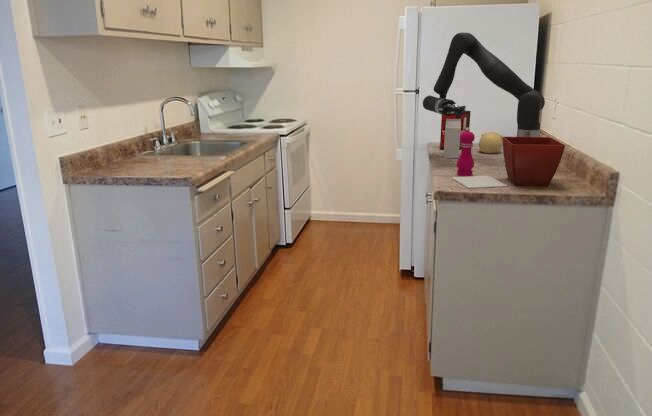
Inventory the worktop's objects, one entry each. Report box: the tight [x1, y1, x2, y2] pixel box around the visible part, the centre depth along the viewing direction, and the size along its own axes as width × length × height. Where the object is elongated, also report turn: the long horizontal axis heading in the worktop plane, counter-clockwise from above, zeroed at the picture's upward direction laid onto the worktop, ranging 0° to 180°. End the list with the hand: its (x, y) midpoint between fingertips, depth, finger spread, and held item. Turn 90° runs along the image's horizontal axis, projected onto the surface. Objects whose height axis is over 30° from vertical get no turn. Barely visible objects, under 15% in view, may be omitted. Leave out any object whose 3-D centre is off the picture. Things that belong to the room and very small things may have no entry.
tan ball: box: [478, 131, 504, 154], centre depth 262 cm, size 12×12×11 cm
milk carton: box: [443, 119, 461, 159], centre depth 250 cm, size 7×7×19 cm
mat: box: [450, 175, 509, 189], centre depth 201 cm, size 18×16×1 cm
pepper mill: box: [456, 127, 476, 177], centre depth 212 cm, size 7×7×20 cm
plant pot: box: [502, 136, 566, 187], centre depth 198 cm, size 19×19×17 cm
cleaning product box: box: [439, 110, 472, 151], centre depth 274 cm, size 16×9×20 cm, turn 141°
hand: (459, 110), depth 217 cm, fingers closed
